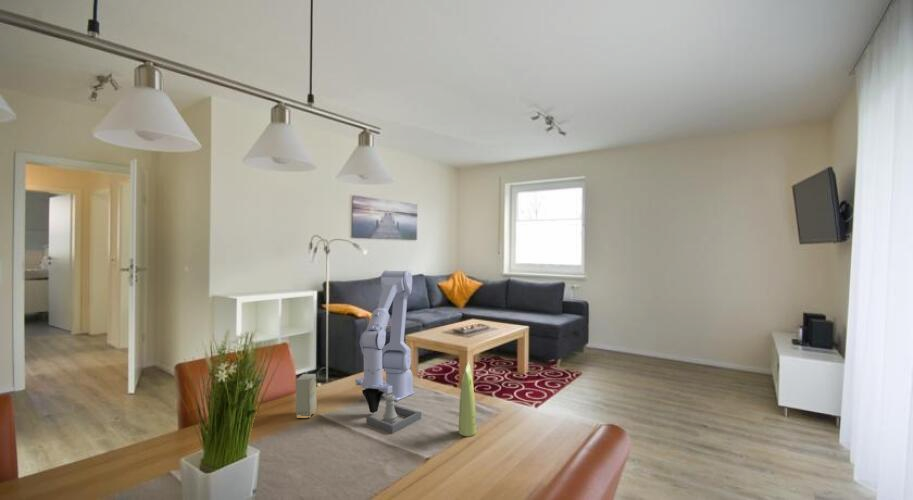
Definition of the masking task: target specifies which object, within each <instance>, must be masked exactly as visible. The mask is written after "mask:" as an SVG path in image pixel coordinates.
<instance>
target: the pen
mask: <svg viewBox="0 0 913 500" xmlns="http://www.w3.org/2000/svg"><path fill="white" fill-rule="evenodd" d="M394 409H395V412H396V414H397V415H398V414H399V415H402V416H404V417H406V418H403V419H402V420H399V421H398V422H397V421H396V422H395V423H391V424H390V423H388V422H385V421H383V419H382V420H380V419H378V418H375V417H373V416H370V415H368V416H366V419H365V420H366V423H367V425H369V426H372V427H375V428H378V429H380V430H383V431H386V432H390V434H394V433H398V432H399V431H401V430H402V429H405V428H406V427H409V426H410V425H411V424H414V423H416V422H417V421H419V420H422V411H416V410H413V409H410V408H407V407H403V406H400V405H396V404H394ZM366 423H365V424H366Z"/></svg>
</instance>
